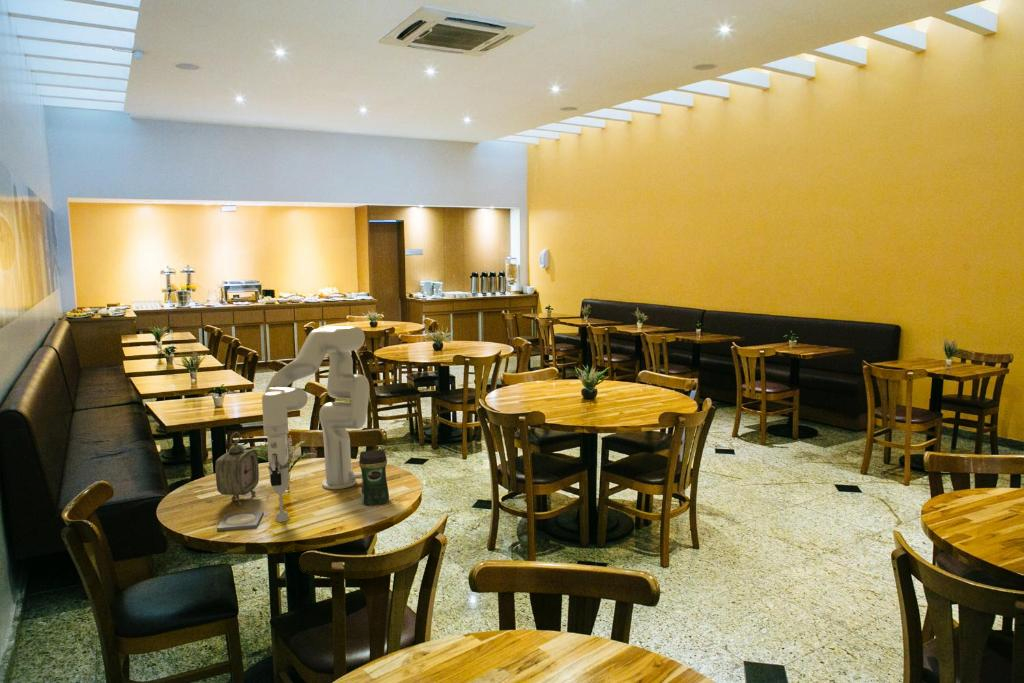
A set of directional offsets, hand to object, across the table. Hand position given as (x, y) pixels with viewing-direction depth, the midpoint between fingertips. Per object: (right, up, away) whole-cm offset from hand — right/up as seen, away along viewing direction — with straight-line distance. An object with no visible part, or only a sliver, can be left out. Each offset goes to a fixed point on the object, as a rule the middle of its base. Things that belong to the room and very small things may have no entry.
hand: (278, 480), depth 223 cm
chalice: (0, -13, +2) cm, 14 cm away
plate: (-12, -14, 0) cm, 18 cm away
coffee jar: (+28, -11, +16) cm, 34 cm away
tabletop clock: (-21, -11, +20) cm, 31 cm away
